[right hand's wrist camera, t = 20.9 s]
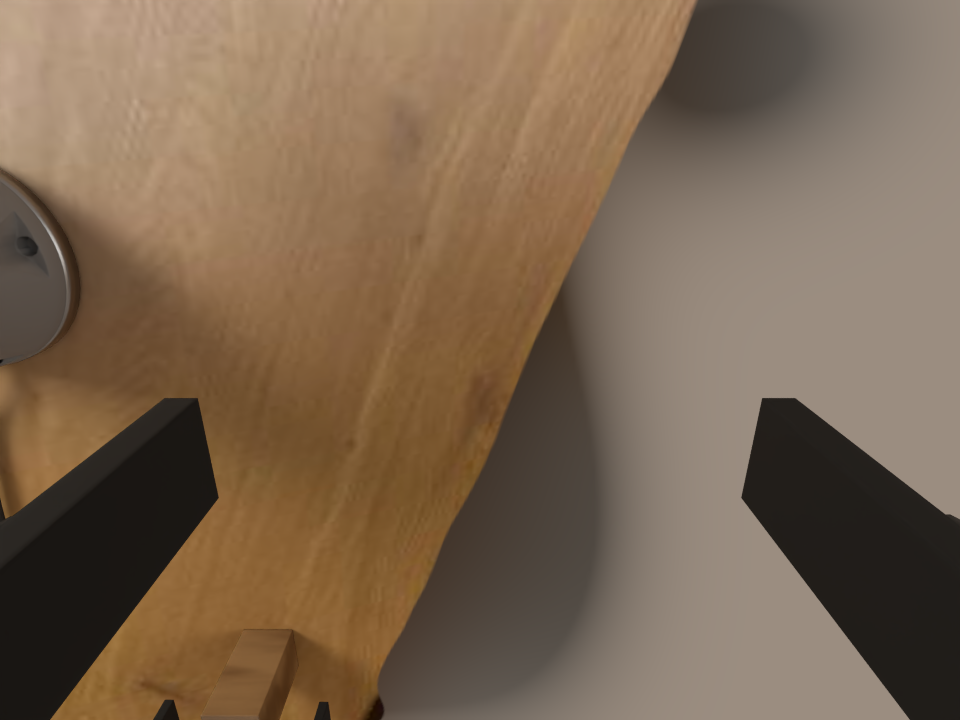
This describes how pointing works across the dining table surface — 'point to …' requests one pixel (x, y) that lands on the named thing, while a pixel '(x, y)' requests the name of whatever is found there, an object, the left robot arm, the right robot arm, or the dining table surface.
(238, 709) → the wooden block
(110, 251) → the dining table surface
